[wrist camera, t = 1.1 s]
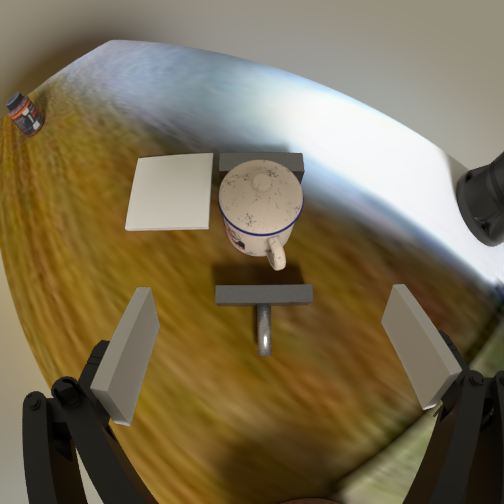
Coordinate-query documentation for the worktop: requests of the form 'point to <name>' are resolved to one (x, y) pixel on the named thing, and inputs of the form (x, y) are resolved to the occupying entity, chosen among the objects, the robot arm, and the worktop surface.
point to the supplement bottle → (24, 114)
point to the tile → (171, 193)
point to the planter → (310, 501)
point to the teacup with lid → (260, 208)
